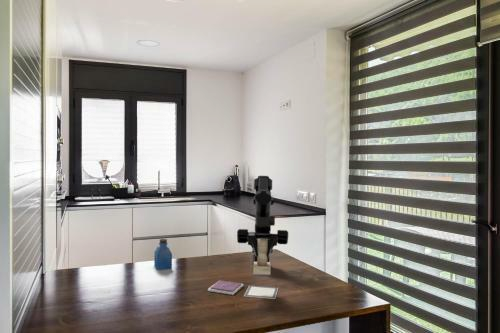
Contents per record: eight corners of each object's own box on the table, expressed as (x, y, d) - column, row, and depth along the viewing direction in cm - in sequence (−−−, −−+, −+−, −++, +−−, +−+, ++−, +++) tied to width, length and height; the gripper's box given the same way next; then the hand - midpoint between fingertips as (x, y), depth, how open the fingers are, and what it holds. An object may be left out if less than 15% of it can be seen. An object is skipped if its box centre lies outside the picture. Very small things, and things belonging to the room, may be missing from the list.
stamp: (253, 270, 142) (254, 237, 142) (270, 271, 142) (270, 237, 141) (253, 276, 136) (254, 241, 136) (270, 276, 136) (271, 241, 135)
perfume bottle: (154, 266, 169) (154, 238, 169) (168, 264, 171) (168, 237, 171) (157, 270, 163) (157, 241, 163) (171, 268, 166) (172, 240, 166)
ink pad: (219, 282, 149) (219, 279, 149) (243, 286, 145) (243, 282, 145) (207, 291, 139) (207, 287, 139) (233, 295, 136) (233, 291, 136)
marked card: (249, 285, 146) (249, 285, 146) (278, 288, 144) (278, 287, 144) (243, 296, 135) (243, 295, 135) (275, 298, 133) (275, 298, 133)
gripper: (237, 207, 142) (235, 244, 132) (288, 208, 142) (290, 245, 131) (238, 224, 151) (236, 260, 140) (286, 225, 150) (287, 262, 139)
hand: (262, 256), depth 137 cm, fingers closed on stamp, 4 cm apart
